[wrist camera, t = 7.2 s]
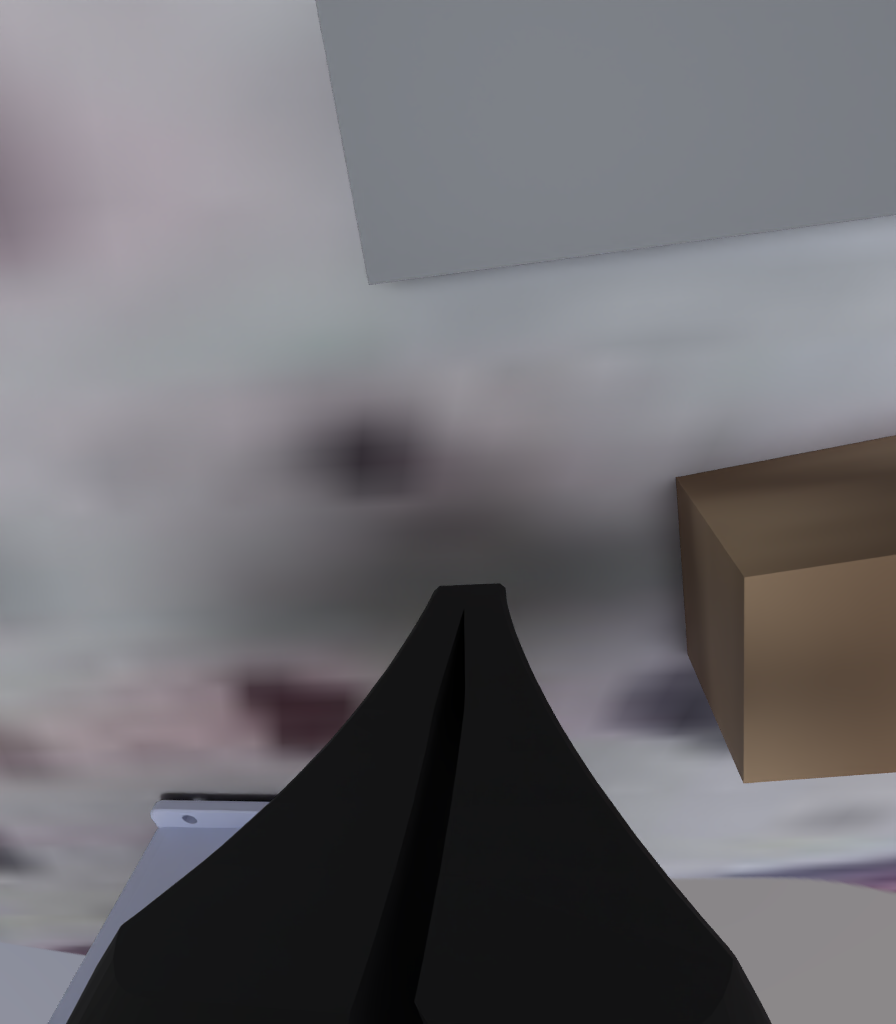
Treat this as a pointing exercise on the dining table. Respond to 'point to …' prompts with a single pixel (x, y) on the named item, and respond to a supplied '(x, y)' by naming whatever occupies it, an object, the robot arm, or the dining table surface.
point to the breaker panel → (605, 124)
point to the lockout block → (796, 608)
